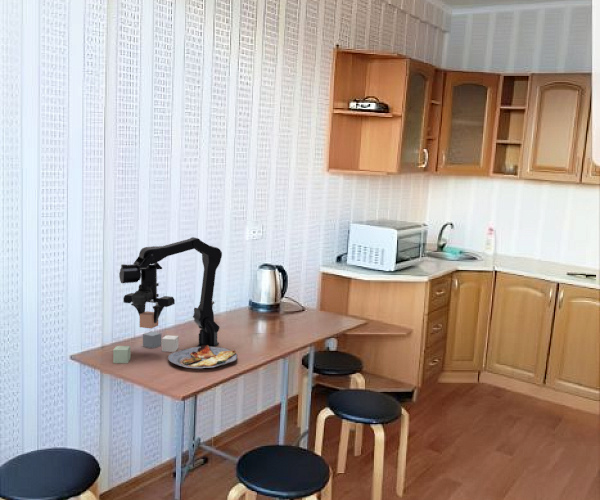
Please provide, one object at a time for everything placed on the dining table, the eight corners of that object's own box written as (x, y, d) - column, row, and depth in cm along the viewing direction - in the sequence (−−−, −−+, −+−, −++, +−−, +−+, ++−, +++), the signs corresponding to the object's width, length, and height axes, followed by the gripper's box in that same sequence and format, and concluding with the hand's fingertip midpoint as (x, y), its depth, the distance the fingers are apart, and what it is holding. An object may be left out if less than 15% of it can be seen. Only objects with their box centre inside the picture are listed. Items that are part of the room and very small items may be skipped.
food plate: (207, 347, 244) (207, 338, 243) (250, 360, 229) (250, 351, 229) (155, 363, 225) (155, 353, 224) (198, 378, 210) (198, 368, 210)
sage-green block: (130, 359, 227) (130, 346, 226) (127, 363, 222) (127, 349, 221) (116, 359, 227) (116, 345, 226) (113, 363, 222) (113, 349, 221)
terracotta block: (158, 325, 235) (158, 312, 234) (151, 328, 230) (151, 315, 229) (146, 324, 236) (146, 311, 236) (139, 327, 232) (139, 314, 231)
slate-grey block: (161, 345, 245) (161, 333, 245) (152, 348, 241) (152, 336, 240) (151, 343, 248) (151, 331, 247) (142, 346, 243) (142, 334, 243)
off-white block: (178, 348, 242) (178, 336, 241) (174, 352, 237) (174, 339, 236) (165, 347, 242) (165, 335, 242) (161, 351, 238) (161, 338, 237)
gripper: (114, 283, 226) (115, 324, 228) (160, 287, 221) (160, 329, 223) (131, 278, 237) (131, 318, 239) (175, 281, 231) (175, 322, 233)
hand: (149, 322), depth 233 cm, fingers closed on terracotta block, 5 cm apart
